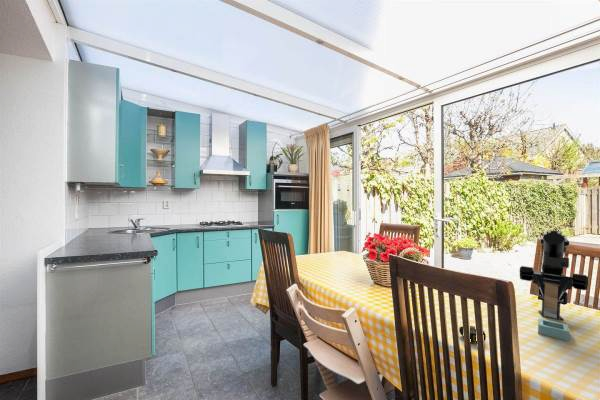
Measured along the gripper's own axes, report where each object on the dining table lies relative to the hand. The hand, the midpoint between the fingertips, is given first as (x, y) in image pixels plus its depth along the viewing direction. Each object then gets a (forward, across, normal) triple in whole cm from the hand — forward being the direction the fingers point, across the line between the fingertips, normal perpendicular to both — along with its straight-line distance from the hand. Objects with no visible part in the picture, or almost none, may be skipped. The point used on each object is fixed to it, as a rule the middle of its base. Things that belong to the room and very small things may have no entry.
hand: (550, 297), depth 103 cm
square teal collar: (+7, +1, +11) cm, 13 cm away
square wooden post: (+4, 0, +6) cm, 7 cm away
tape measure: (+27, -19, -9) cm, 34 cm away
